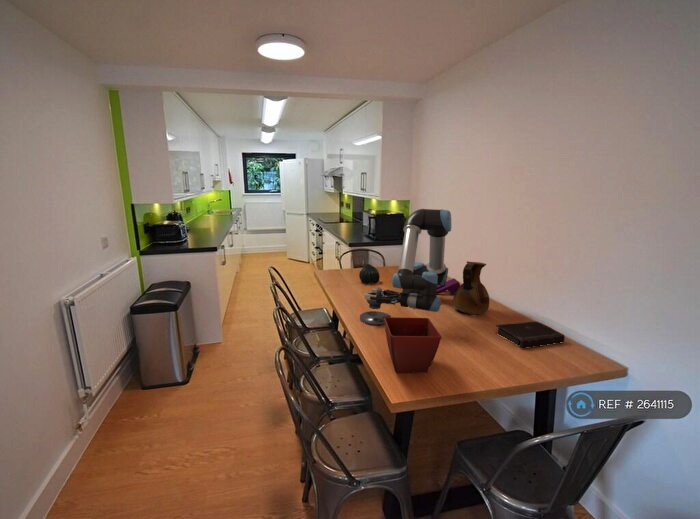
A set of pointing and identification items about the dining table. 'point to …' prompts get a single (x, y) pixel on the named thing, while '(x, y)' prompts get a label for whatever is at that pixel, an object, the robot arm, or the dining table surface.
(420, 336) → the plant pot
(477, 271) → the ceramic pitcher
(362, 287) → the dining table surface
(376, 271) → the squash
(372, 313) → the disc
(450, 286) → the mounting bracket
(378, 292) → the mortar and pestle
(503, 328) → the diary
